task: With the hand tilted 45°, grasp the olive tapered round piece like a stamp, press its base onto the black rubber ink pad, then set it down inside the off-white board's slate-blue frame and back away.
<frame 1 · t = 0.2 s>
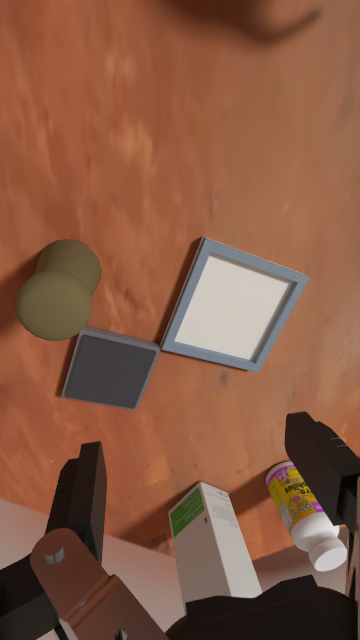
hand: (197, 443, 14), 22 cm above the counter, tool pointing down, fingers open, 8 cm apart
marked board: (231, 308, 37), on the counter
skincare box: (197, 501, 51), on the counter
olive tapered round piece: (70, 269, 32), on the counter
supplement bottle: (282, 472, 52), on the counter
ink pad: (111, 367, 37), on the counter
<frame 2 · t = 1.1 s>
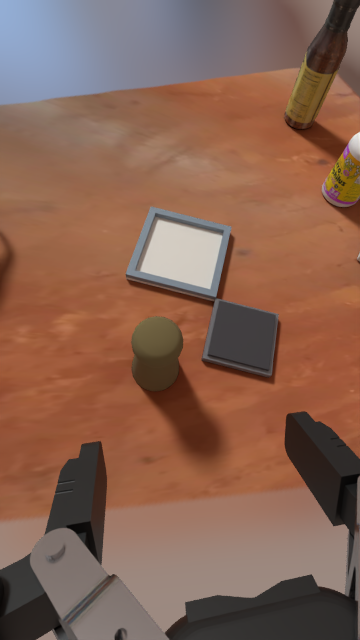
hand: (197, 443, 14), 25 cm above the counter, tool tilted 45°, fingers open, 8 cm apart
marked board: (180, 254, 48), on the counter
sauce bottle: (296, 122, 65), on the counter
olive tapered round piece: (155, 368, 41), on the counter
supplement bottle: (337, 195, 57), on the counter
ink pad: (240, 337, 43), on the counter
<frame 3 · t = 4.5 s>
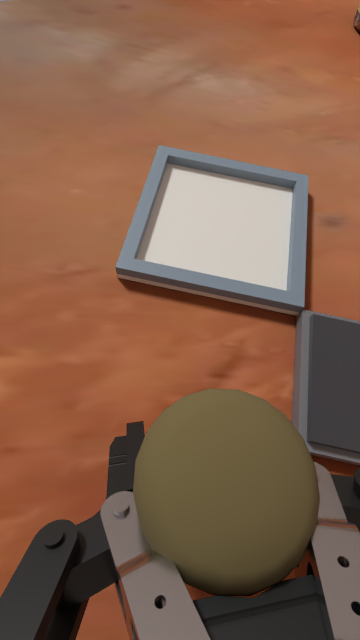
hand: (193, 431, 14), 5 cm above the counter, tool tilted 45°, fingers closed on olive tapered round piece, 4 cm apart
marked board: (219, 227, 25), on the counter
olive tapered round piece: (190, 476, 18), on the counter, touching gripper
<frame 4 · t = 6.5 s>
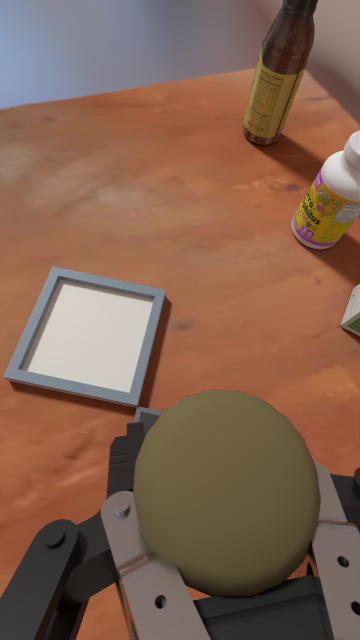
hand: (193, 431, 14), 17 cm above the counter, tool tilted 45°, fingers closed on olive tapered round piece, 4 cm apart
marked board: (93, 334, 34), on the counter
sauce bottle: (258, 136, 51), on the counter
olive tapered round piece: (191, 477, 18), point 13 cm above the counter, touching gripper
supplement bottle: (312, 232, 43), on the counter
ink pad: (173, 466, 29), on the counter
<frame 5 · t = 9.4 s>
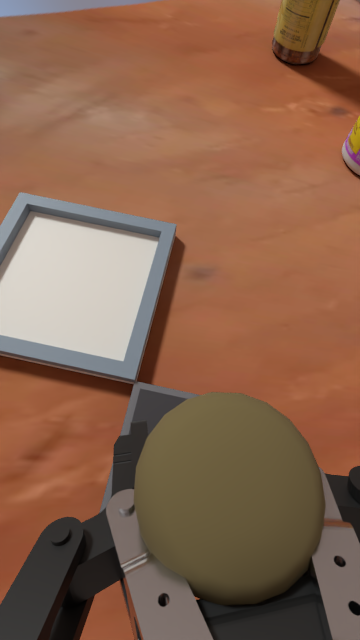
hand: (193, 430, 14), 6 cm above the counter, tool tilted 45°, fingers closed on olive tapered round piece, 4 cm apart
marked board: (74, 283, 24), on the counter
sauce bottle: (291, 56, 41), on the counter
olive tapered round piece: (191, 479, 18), point 2 cm above the counter, touching gripper
ink pad: (189, 473, 19), on the counter
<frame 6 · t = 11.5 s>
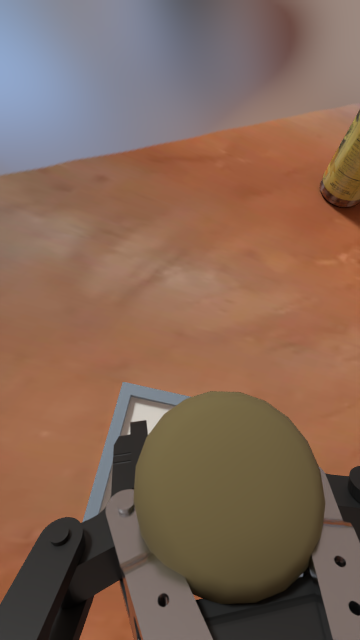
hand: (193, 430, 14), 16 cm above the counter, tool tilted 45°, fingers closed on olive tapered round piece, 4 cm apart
marked board: (176, 473, 28), on the counter
sauce bottle: (337, 195, 45), on the counter
olive tapered round piece: (192, 479, 18), point 11 cm above the counter, touching gripper
when the fingers open (6 cm above the counter, at t = 13.6 s): olive tapered round piece moves 1 cm, resting on marked board.
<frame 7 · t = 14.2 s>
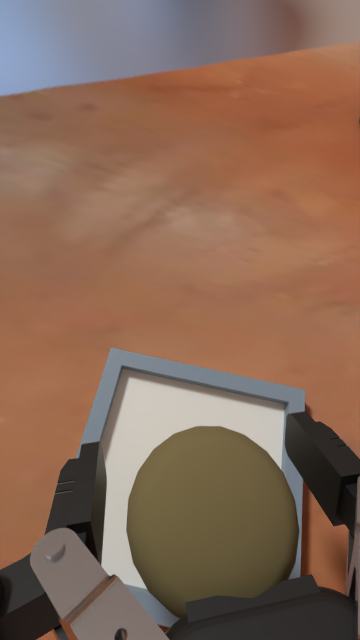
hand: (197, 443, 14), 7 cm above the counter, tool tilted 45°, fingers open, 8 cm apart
marked board: (187, 476, 19), on the counter
olive tapered round piece: (187, 498, 18), resting on marked board
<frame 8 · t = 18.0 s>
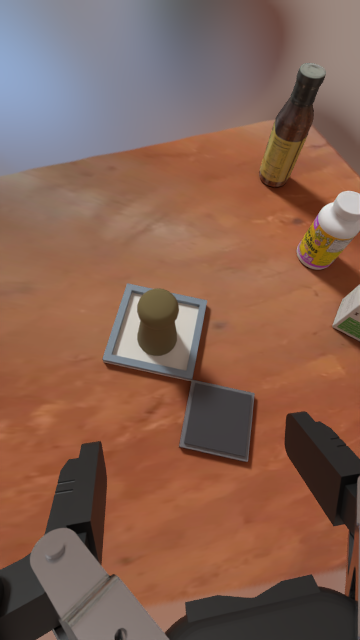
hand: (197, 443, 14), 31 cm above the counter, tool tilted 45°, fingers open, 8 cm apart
marked board: (157, 331, 49), on the counter
skincare box: (359, 324, 52), on the counter
sauce bottle: (271, 179, 66), on the counter
olive tapered round piece: (157, 337, 48), resting on marked board
supplement bottle: (312, 256, 58), on the counter
ink pad: (217, 419, 44), on the counter
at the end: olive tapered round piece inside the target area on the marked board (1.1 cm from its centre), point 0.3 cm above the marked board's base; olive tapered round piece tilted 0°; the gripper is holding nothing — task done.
